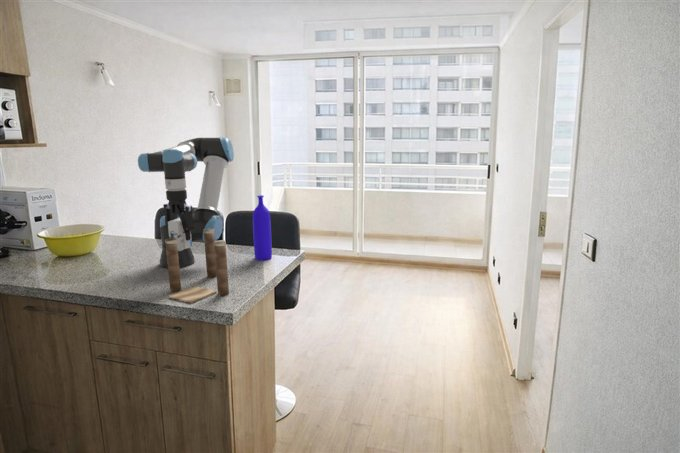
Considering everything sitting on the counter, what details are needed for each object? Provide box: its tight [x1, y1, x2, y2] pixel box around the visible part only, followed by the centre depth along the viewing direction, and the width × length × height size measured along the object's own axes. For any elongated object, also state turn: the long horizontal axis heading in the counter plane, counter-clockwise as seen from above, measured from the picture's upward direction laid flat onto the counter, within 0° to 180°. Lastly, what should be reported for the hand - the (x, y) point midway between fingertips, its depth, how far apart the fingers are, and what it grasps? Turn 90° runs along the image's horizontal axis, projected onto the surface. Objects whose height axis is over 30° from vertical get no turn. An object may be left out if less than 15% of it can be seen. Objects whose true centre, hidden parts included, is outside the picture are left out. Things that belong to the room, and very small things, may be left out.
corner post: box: [214, 239, 230, 297], centre depth 162 cm, size 4×4×20 cm
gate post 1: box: [165, 238, 182, 293], centre depth 167 cm, size 4×4×20 cm
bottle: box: [252, 194, 273, 261], centre depth 208 cm, size 8×8×30 cm
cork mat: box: [167, 285, 217, 304], centre depth 163 cm, size 12×12×1 cm
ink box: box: [168, 218, 193, 251], centre depth 176 cm, size 9×5×12 cm, turn 167°
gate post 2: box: [203, 228, 217, 279], centre depth 183 cm, size 4×4×20 cm
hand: (181, 246), depth 177 cm, fingers closed on ink box, 6 cm apart
